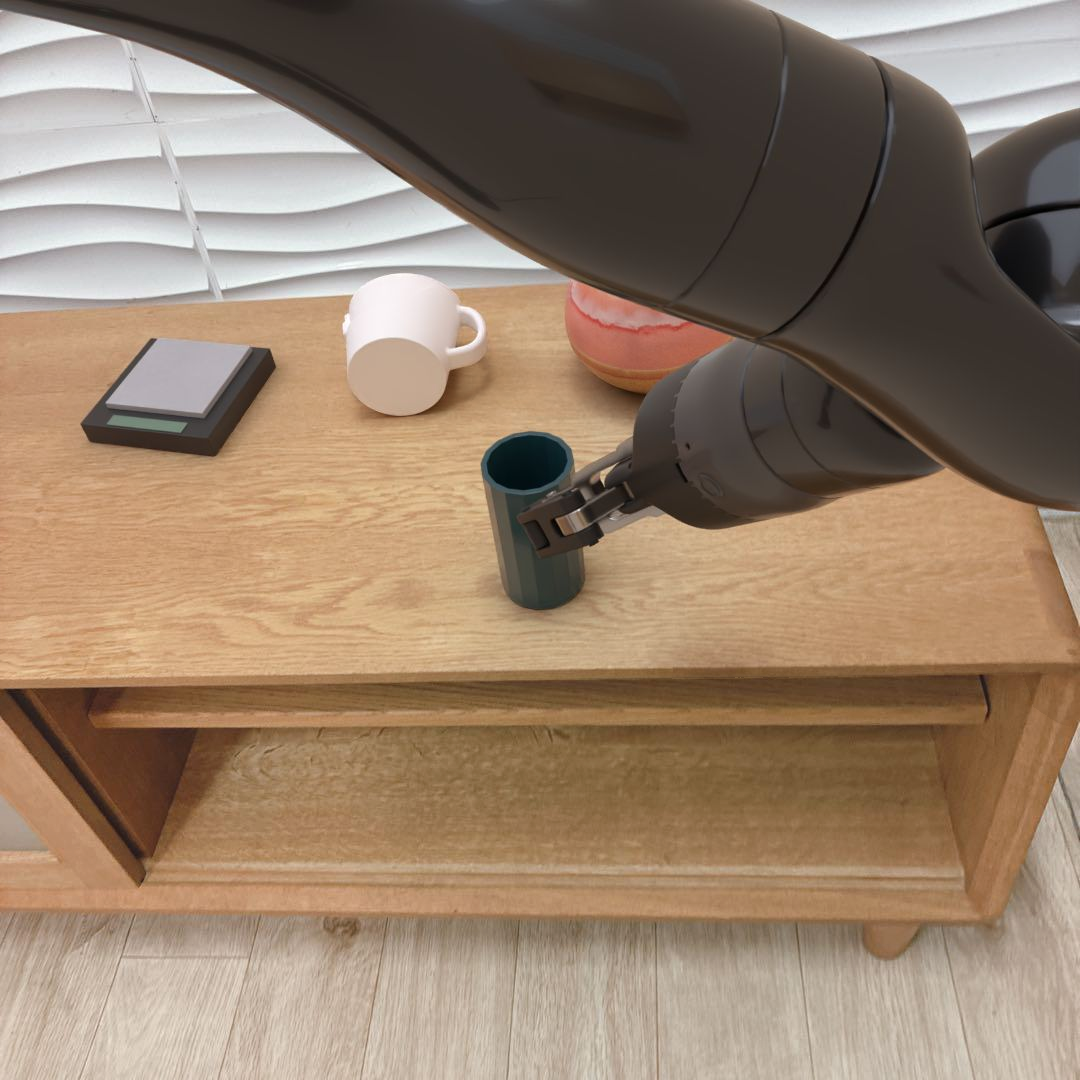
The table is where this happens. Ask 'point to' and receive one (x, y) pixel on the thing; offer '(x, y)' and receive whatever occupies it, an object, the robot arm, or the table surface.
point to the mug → (407, 342)
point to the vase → (631, 338)
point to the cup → (511, 485)
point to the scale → (180, 396)
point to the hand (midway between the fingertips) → (602, 485)
